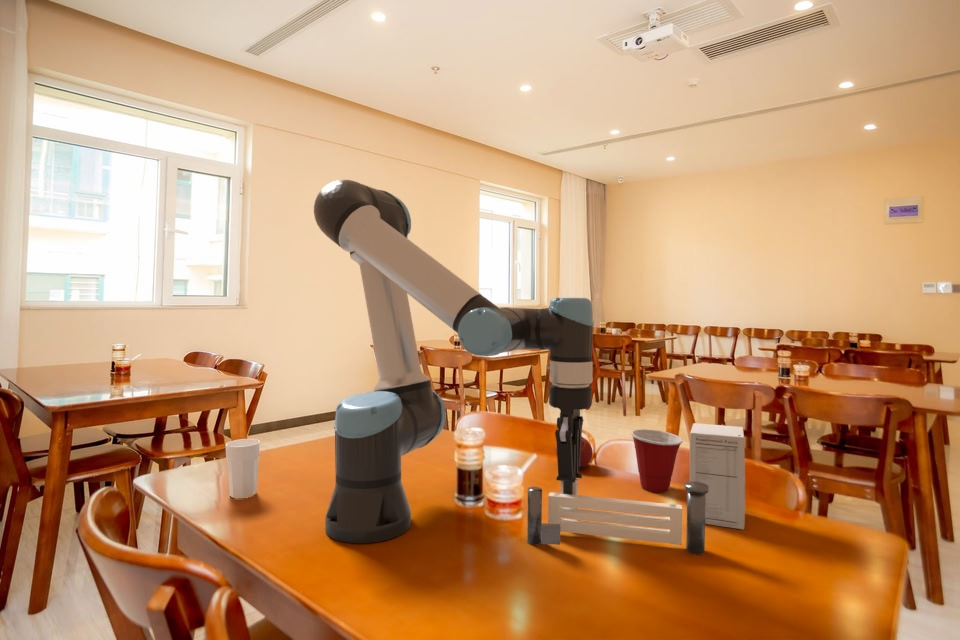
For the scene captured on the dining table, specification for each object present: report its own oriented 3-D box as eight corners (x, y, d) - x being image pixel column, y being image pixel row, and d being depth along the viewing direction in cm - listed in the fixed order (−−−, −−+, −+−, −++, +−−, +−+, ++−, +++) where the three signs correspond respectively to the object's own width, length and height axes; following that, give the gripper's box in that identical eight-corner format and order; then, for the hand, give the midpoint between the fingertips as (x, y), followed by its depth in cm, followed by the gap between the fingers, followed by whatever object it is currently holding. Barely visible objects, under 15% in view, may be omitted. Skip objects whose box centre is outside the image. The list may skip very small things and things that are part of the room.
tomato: (554, 460, 138) (555, 429, 138) (591, 462, 137) (591, 431, 137) (554, 471, 129) (555, 438, 129) (593, 473, 128) (594, 440, 128)
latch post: (526, 549, 88) (527, 494, 88) (527, 538, 92) (527, 486, 92) (560, 550, 87) (560, 496, 87) (559, 540, 91) (559, 487, 91)
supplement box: (744, 513, 104) (745, 426, 103) (745, 531, 95) (747, 437, 95) (691, 505, 108) (692, 421, 107) (687, 521, 99) (689, 431, 99)
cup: (218, 498, 110) (218, 444, 110) (243, 487, 117) (243, 437, 116) (242, 502, 108) (242, 448, 108) (267, 492, 114) (267, 440, 114)
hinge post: (687, 555, 86) (688, 488, 86) (681, 545, 90) (682, 481, 89) (710, 556, 86) (711, 489, 85) (703, 546, 89) (704, 481, 89)
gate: (548, 530, 93) (548, 495, 93) (549, 526, 95) (549, 492, 94) (681, 545, 87) (682, 508, 87) (680, 540, 89) (681, 504, 89)
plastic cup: (677, 500, 110) (678, 442, 110) (625, 491, 115) (625, 436, 115) (686, 485, 119) (686, 432, 119) (636, 477, 125) (637, 426, 124)
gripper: (557, 378, 103) (556, 500, 103) (540, 388, 90) (539, 526, 91) (597, 380, 100) (595, 505, 101) (585, 391, 88) (583, 533, 89)
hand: (568, 515), depth 96 cm, fingers closed
